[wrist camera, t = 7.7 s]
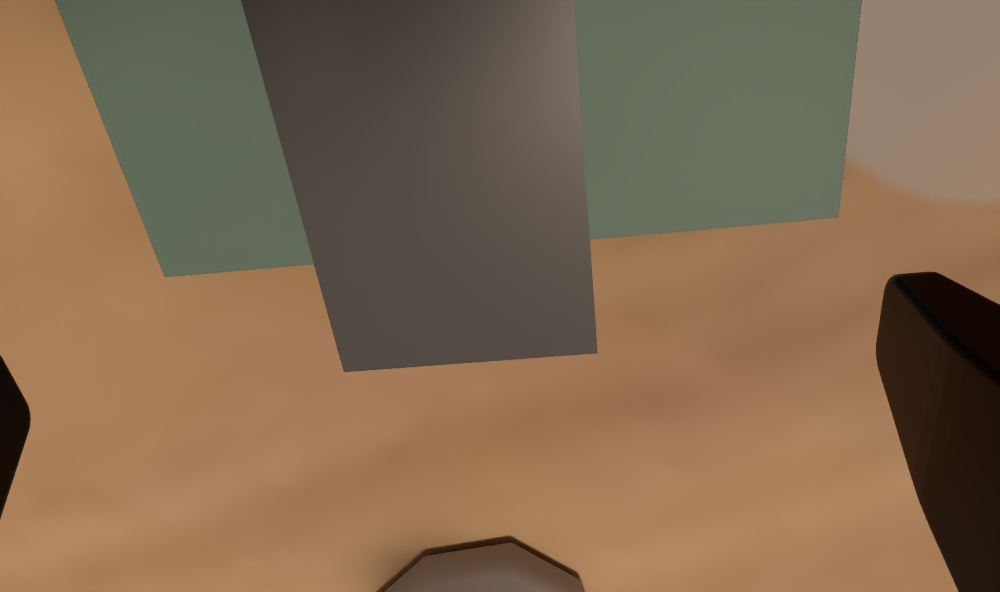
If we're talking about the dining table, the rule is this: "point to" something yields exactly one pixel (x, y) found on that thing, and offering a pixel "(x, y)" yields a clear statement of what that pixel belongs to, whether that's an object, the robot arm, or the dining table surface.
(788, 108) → the header board
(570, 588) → the grey flared piece
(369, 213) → the block
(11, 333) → the dining table surface
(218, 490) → the dining table surface
